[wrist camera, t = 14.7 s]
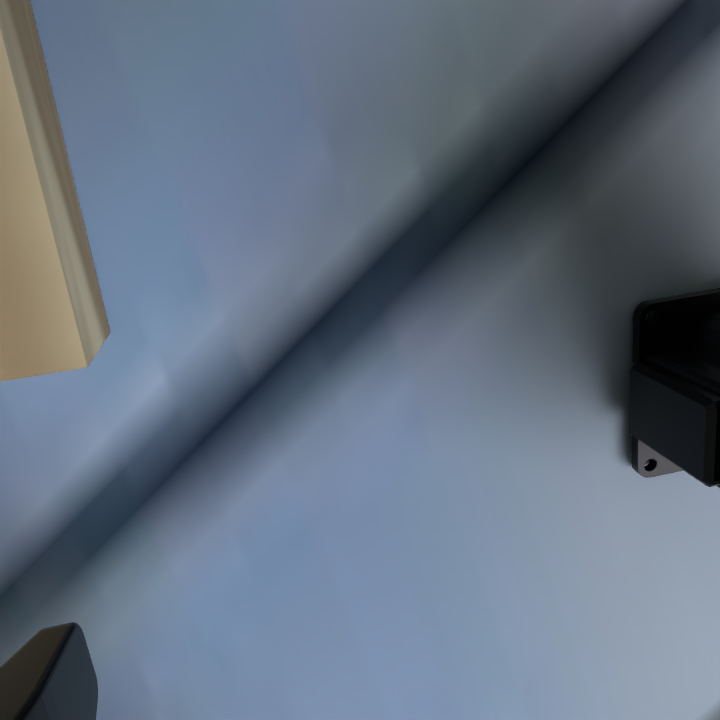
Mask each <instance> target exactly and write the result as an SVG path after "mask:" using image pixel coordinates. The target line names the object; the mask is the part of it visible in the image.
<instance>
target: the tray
mask: <svg viewBox="0 0 720 720" xmlns="http://www.w3.org/2000/svg"><path fill="white" fill-rule="evenodd" d="M109 334H110V329H109V325H108V321H107V316H106V312H105V308H104V304H103V300H102V296H101V292H100V288H99V283H98V279H97V275H96V271H95V267H94V263H93V259H92V254H91V250H90V246H89V242H88V238H87V234H86V230H85V225H84V221H83V217H82V213H81V209H80V205H79V201H78V197H77V192H76V188H75V184H74V180H73V176H72V172H71V168H70V163H69V159H68V155H67V151H66V147H65V143H64V139H63V134H62V130H61V126H60V122H59V118H58V114H57V110H56V106H55V101H54V97H53V93H52V89H51V85H50V81H49V77H48V72H47V68H46V64H45V60H44V56H43V52H42V48H41V43H40V39H39V35H38V31H37V27H36V23H35V19H34V14H33V10H32V6H31V2H30V0H0V381H7V380H13V379H19V378H25V377H31V376H37V375H43V374H49V373H55V372H61V371H68V370H74V369H80V368H86V367H88V366H89V364H90V363H91V361H92V360H93V358H94V357H95V355H96V354H97V352H98V351H99V349H100V348H101V346H102V345H103V343H104V342H105V340H106V339H107V337H108V336H109Z"/></svg>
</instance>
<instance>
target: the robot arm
mask: <svg viewBox="0 0 720 720" xmlns="http://www.w3.org/2000/svg"><path fill="white" fill-rule="evenodd" d="M651 311H653V317H652V319H651V320H650V321H648V322H647V320H646V318H647V315H648V314H649V312H651ZM629 431H630V433H631V434H632V467H633V469H634V470H635V471H636V472H637V473H639V474H640V475H641V476H643V477H655V476H659V475H664V474H669V473H674V472H678V471H683V470H684V471H685V472H687V473H688V474H690V475H691V476H693V477H694V478H696V479H697V480H699V481H700V482H702V483H703V484H704V485H706V486H709V487H712V486H717V487H719V488H720V288H719V289H713V290H708V291H702V292H696V293H690V294H684V295H678V296H672V297H666V298H661V299H655V300H649V301H645V302H642V303H641V304H639V305H638V306H637V307H636V309H635V311H634V314H633V350H632V366H631V368H630V409H629ZM649 459H650V463H649V464H648V465H647V466H644V465H645V462H646V461H647V460H649ZM97 702H98V685H97V678H96V674H95V670H94V667H93V664H92V660H91V657H90V654H89V650H88V647H87V644H86V640H85V637H84V634H83V631H82V629H81V627H80V626H79V625H78V624H77V623H74V622H72V623H67V624H62V625H58V626H53V627H49V628H44V629H42V630H40V631H39V632H38V633H37V634H36V635H35V636H34V637H32V638H31V639H30V640H29V641H28V642H27V643H26V644H25V645H24V646H23V647H22V648H21V649H20V650H19V651H17V652H16V653H15V654H14V655H13V656H12V657H11V658H10V659H9V660H8V661H7V662H6V663H5V664H4V665H3V666H1V667H0V720H96V713H97Z"/></svg>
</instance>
